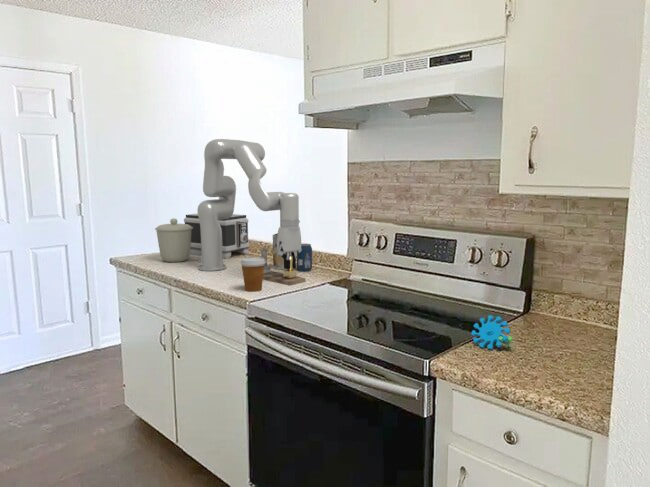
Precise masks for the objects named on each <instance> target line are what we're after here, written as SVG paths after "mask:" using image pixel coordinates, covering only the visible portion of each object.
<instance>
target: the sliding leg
mask: <svg viewBox="0 0 650 487" xmlns="http://www.w3.org/2000/svg"><path fill="white" fill-rule="evenodd" d="M289 260H290V269H287V270H283V272H282V273H283V277H282V279H283V278H293V277H297V276H298V274H297V269H293V256H292V255H289Z"/></svg>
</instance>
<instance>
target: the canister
mask: <svg viewBox="0 0 650 487" xmlns="http://www.w3.org/2000/svg"><path fill="white" fill-rule="evenodd" d="M169 222H170V223H165V224H160V225H157V227H155V228H154V230H155V231H156V237H157V244H158V248H159V249H158V250H159V254H160V257H161V260H162V261H164V262H167V263H180V262H181V263H182V262H184V261H187V260H188V259H189V257H190V255H191V254H190V246H191V232H192V229H193V227H191V226H190V225H188V224H185V223H178V219H177V218H175V217H174V218H173V217H172V218H171V219H170V220H169Z"/></svg>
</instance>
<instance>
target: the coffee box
mask: <svg viewBox="0 0 650 487" xmlns="http://www.w3.org/2000/svg"><path fill="white" fill-rule="evenodd" d="M277 235H278V232H277V233H274V234H272V259H273V260H272V263H273V264H272V265H273V266H272V268H273V269H274V270H287V269H284V259H283V258H282V257H281V256H280V255H278V254H277V253H278V251H277ZM282 253H283V251H282ZM293 253H294V252H293ZM289 255H290V252H289ZM293 270H295V268H293Z"/></svg>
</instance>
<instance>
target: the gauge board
mask: <svg viewBox="0 0 650 487" xmlns="http://www.w3.org/2000/svg"><path fill="white" fill-rule="evenodd" d="M260 254H261V255H260V257H261V258H264V260H265V265H264V272H263V281H264V280H265V281H269V282H273V283H277V284H282V285H286V286H293V285H296V284H302V283H305V282H306V277H302V276H298V275H297V277H293V278H283V279H282V277H283V272H278V271H274V270H271V269H272V268H271V265H270V264H268V249H267V248H262V249H260Z"/></svg>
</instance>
